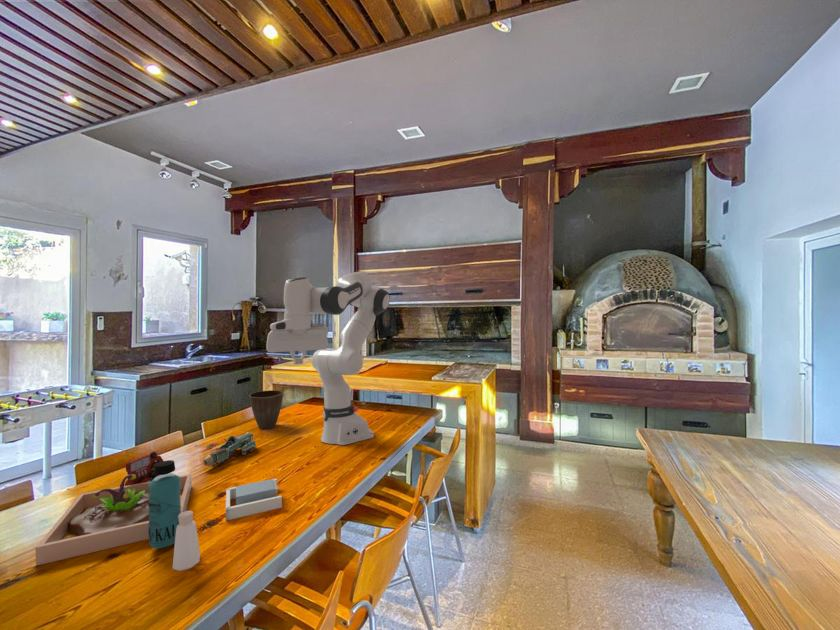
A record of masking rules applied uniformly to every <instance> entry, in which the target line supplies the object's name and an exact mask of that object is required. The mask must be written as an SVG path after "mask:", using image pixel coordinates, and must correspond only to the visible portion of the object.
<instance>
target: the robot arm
mask: <svg viewBox="0 0 840 630" xmlns="http://www.w3.org/2000/svg"><path fill="white" fill-rule="evenodd" d="M390 301H391V295H390V292H388V291H387V290H385V289H383V288H378V287H377V286H373V279H372V277H371V275H370V274H368V273H367V272H365V271H355V272H350V273H347V274H344V275H342V276H340V277H339V278H338V279H337V281H336V283H335V286H329V287H315V286H314V285H312V284H311V282H310V280H309V278H308V277H306V276H300V277H299V276H298V277H290V278H288V279H287V280H285V283H284V287H283V306H284V313H283V319H282V320H278V321H276V322H273V323H270V325H269V328H270V331H269V332H268V334H267V338H266V352H268V353H270V354H271V353H285V352H289V354H290V356H291V358H292V360H293V365H303V364H304V358H305V357H306V355H307V351H315V352H314V353H313V354H312V357H311V365H312V367H313V368H314V370H315V371H316V372H317V373H318V376H319V378H320V381H321V383H322V387H323V395H324V396H323V398H324V399H323V400H324V401H323V402H324V406H323V410H322V411H323V412H322V417H323V429H322V433H321V434H322V435H321V438H320V441H321V442H323V443H325V444H329V445H330V444H331V445H339V446H345V445H349V444H353V443H357V442H361V441H365V440H369V439H374V437H375V434H374V431H373V430H371V429H370V428H369V424H368V422H367V420H366V419H365V418H363V417H362V416H361V415H359V414H358V413H357V412H358V411H359V407H358V406H355V405H354V404H351V387H350V385H349V384H348V383H347V381H346V380H345V378H344V376H352V375H358V374H359V373H360V371H362V368H363V366H364V360H363V356H362V354H361V350H362V347H363V345H364V342H365V341H366V340H367V338H368V337H369V335H370V333H371V331H372V329H373V326H374V324H375V321H376V316H379V315H381V314H382V313H384V312H385V311H386V310H387V309H388V307H389V306H390ZM349 305H350V306H353V307H356V308H357V311H355V312H354V314H353V315H352V316H351V317H350V318H349V320H348V321H347V323H346V325H345V326H344V327H343V329H342V330H341V332H340V334H339V340H340V341H341V345H340V346H339V347H338V348H335V347H334V348H332V347H329V339H328V335H329V327H328V325H326V324H324V323H312V315H333V316H335V315H336V316H339V315H341V314H343V312H345V310H346V309H347V308H348V306H349ZM296 352H300V353H301V354H302V355H301V356H300V358H296V357H295V355H296Z"/></svg>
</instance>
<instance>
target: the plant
mask: <svg viewBox="0 0 840 630" xmlns="http://www.w3.org/2000/svg"><path fill="white" fill-rule="evenodd" d="M128 478H129V479H130V480H134V479H135V478H136V475H134V474H130V475H128V474H127V475H126V476H124V478H123V479H122V480H121V482H120V485H119V487H120V489H119V491H118V492H117V491H114V490H113V489H111V488H103V489H101V490H98V491H99V492H97V493H95V494H94V495H93V499H97V498H98V497H99V493H100V492H103V491H108V492H110V493H111V494H112V495H111V497H112V499H111V498H101V501H103V504H99V505H98V506H95V507H91V508H86V509H85V511H84V512H83V511H82V512H81V513H80V515H77V516H75V517H73V518H72V519H71V520H70V522H69V529H68V531H69V532H70V533H73V534H76V535H78V536H82V535H86V534H91V533H96V532H100V531H105V530H109V529H114V528H118V527H123V526H128V525H132V524H137V523H141V522H146V521H149V504H148V503H149V501H148V500H149V492H146V491H145V490H144V491H141V492H139V493H135V489H133V490H132V491H131V490H130V489H126V490H124V486H125V483H126V481H127V479H128Z"/></svg>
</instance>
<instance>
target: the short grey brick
mask: <svg viewBox="0 0 840 630" xmlns="http://www.w3.org/2000/svg"><path fill="white" fill-rule="evenodd" d="M273 479H274V478H270V479H266V480H262V481H255V482H251V483H247V484H240V485H238V486H235V487H236V498H235V506H236V505H240V504H245V503H249V502H254V501H258V500H263V499H267V498H272V497H276V495H277V494H278V493H279V488H278V483H277V484H276V480H274V481H273Z"/></svg>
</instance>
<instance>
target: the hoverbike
mask: <svg viewBox="0 0 840 630" xmlns="http://www.w3.org/2000/svg"><path fill="white" fill-rule="evenodd" d="M223 441H225V443H224V444H221V445H220V446H219V448H218V450H216V449H215V447H212V449H211V453H210V454H209V455H206V456H205V457H204V459H203V460H202V464H203V465H204V467H205V466H206V467H211V466H214V465H222V464H225V463H226V462H227V461H228V460H230V459H232V458H233V457H232V456H233V454H235V453H236V451H237V450H238V449H239V450H240V451H241V454H242V456H245V455H246V454H247V453H248V451H249V452H250V453H251V452H253V451H254V448H255V447H257V444H256V440H254V434H253V433H250V431H249V432H248V431H247V432H246V433H244V434H242V435H239V436H238V437H236V436H233V435H231V436H229V437H228V439H226V438H223ZM213 449H214V450H213ZM227 459H228V460H227Z"/></svg>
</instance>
